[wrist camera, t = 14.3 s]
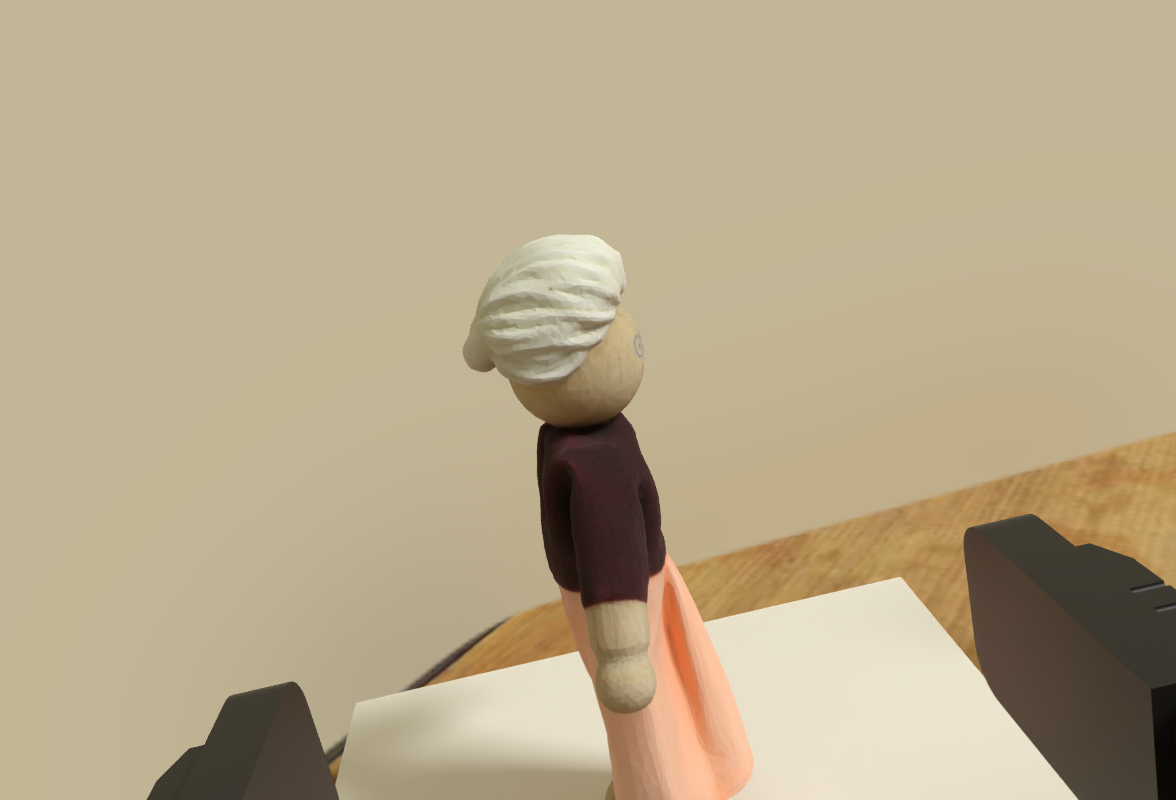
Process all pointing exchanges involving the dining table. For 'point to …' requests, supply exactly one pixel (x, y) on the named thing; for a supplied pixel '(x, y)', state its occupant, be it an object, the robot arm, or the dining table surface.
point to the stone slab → (766, 705)
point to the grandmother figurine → (610, 521)
